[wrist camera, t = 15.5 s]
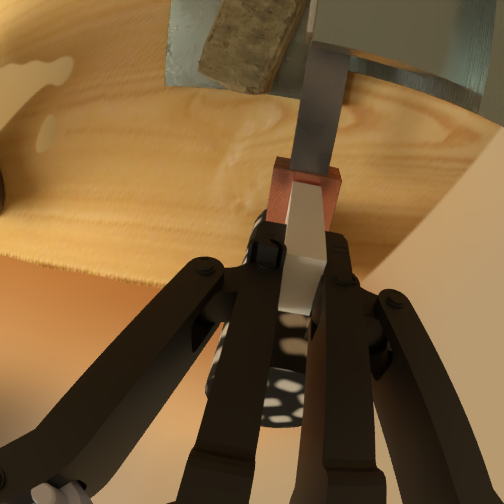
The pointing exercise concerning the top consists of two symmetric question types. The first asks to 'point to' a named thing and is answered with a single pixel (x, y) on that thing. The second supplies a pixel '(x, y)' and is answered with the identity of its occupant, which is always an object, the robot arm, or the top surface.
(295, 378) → the white-spotted black cylinder
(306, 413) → the robot arm
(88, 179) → the top surface
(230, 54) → the stone block
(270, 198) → the hammer
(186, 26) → the press
